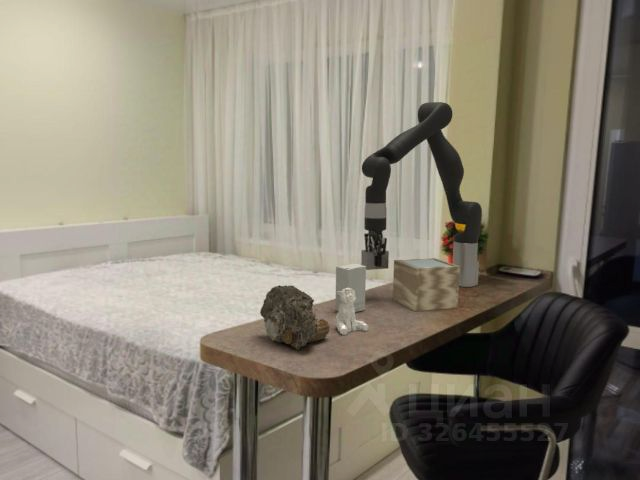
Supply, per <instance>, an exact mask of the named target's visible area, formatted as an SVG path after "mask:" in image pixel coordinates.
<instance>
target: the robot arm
mask: <svg viewBox="0 0 640 480" xmlns="http://www.w3.org/2000/svg"><path fill="white" fill-rule="evenodd" d="M452 119H453V109H452V107H451V105H450V104H448V102H447V103H446V102H442V101H436V102H435V101H432V102H429V101H428V102H424V103H422V104H421V105H420V106H419V107H418V111H417V121H418V124H417V125H415V126H413V127H411V128H409V129H407V130H405V131H403V132H401V133H400V134H398V135H396V136H395V137H394V138H393V139H392V140H391V141H389V142H388V143H387V144H385V146H384V147H382V148H380V149H378V150H377V151H375V152H373V153H371V154H369V156H367V157H366V158H365V159H364V161H363V163H362V165H361V173H362V174H363V176H365V177H366V178H371V179H372V180H371V184H370V185H367V186H366V187H365V188H366V189H365V193H364V194H365V204H364V220H363V221H364V224H363V225H364V230H365V231H368V232H367V233H366V232H365V233H364V234H363V235H364V247H365V249H364V250H373V249H374V251H375V266H376V267H381V266H382V256H383V255H385V251H386V250H387V242H388V239H387V237H384V236H383V232H384V231H386V230H387V217H388V216H387V211H388V210H387V189H388V185H389V181H390V178H391V173H392V166H391V165H394V164H396V163H399V162H400V161H401V160H402V159H403V158H404V157H405V156H407V155H408V154H409V153H410V152H411V151H412V150H414V149H415V148H416V147H417V146H419V145H420V144H421V143H423V142H424V141H427V144H428V146H429V148H430V151H431V153H432V154H431V155H432V157H433V159H434V164H435V166H436V169H437V172H438V176H439V178H440V181H441V184H442V186H443V190H444V193H445V197H446V203H447V207H448V210H449V211H448V212H449V214H450V217H451V220H452V221H453V223H455V224H457V225H464V230H462V231H461V232H457V233H455V234H454V236H453V247H452V249H453V250H452V264H454V265H457V266H460V272H459V287H463V288H464V287H465V288H471V287H473V288H474V287H475V286H478V284H479V270H480V269H479V268H480V267H479V266H480V262H479V261H478V250H479V249H478V248H479V247H478V245H479V238H480V234H481V227H482V218H483V217H482V216H483V211H482V210H483V209H482V206H481V204H480V203H479V202H477V201H468V200H467V201H466V200H464V199H463V198H462V195H461V192H460V188H461V186H462V185H461V184H462V181H463V179H464V173H465V169H464V166H463V162H462V158H461V156H460V154H459V152H458V151H457V150H456V148H455V147H454V146H453V144H451V143H450V141H449V140H448V138H446V136H445V134H444V133H443V131H442V130H444V129H445V128H446V127H447V126H448V125H449V124H450V123H451V122H452ZM377 249H378V250H377ZM382 249H383V250H382Z"/></svg>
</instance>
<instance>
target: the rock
mask: <svg viewBox="0 0 640 480" xmlns="http://www.w3.org/2000/svg"><path fill="white" fill-rule="evenodd" d="M314 302H315V299H313V297H312V296H311V295H309V294H308V293H306V292H305V291H302V290H300V289H299V288H297V287H295V285H276V286H273V287H272V288H271V289H270V290H269V291H267V293H266V295H265V298H264V299H263V304H262V306H261V308H260V310H259V312H260V316H261V317H262V318H263V319H264V327H265V328H264V329H265V332H266V334H267V336H268V337H269V338H270V339H271V340H272V341H273V342H274V341H276V342H278V343H280V344H281V343H284V344H287V345H290V346H291V347H293V348H294V349H295V350H296V349H297V351H300V349H301V347H303V346H304V347H305V346H306V345H307V343H314V342H318V340H319V341H320V339H321V340H322V339H324V338H326V337H327V335H328V334H330V333H329V332H330V330H331V329H330V324H329V323H328V321H326V320H325V319H324V318H321V319H319V318H316V315H317V314H316V312H313V306H314ZM318 319H319V320H318Z"/></svg>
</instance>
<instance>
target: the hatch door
mask: <svg viewBox="0 0 640 480" xmlns="http://www.w3.org/2000/svg"><path fill="white" fill-rule="evenodd" d="M427 259H428V260H407V259H405V260H406V261H401V262H403V263H406V264H409V265H411V266H414V267H417V268H425V267H445V266H451V265H448V264H445V263H442V262H439V261H436V260H434V259H429V258H427Z"/></svg>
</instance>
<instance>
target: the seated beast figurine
mask: <svg viewBox="0 0 640 480" xmlns="http://www.w3.org/2000/svg"><path fill="white" fill-rule="evenodd" d="M354 291H355V290H354ZM354 291H353V289H351V288H346V289H342V291H337V294H338V295H339V296H340V299H341V301H342V302H343V303H342V304H341V305H340V307H339V309H338V310H339V311H337V314H336V317H335V318H334V319H335V321H334V322H335V326H336V328H337V331H338V332H339V334H340V335H341V334H342V336H346V335H347V334H348V333H351V332H357V331H356V330H358V331H362V330H363V331H364V332H368V331H369V324H367V323H365V321H364V320H357V318H356V312H355V308H354V304H353V303H354V301H355V300H356V296H355V292H354ZM351 329H352V330H351ZM347 332H348V333H347Z"/></svg>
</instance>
